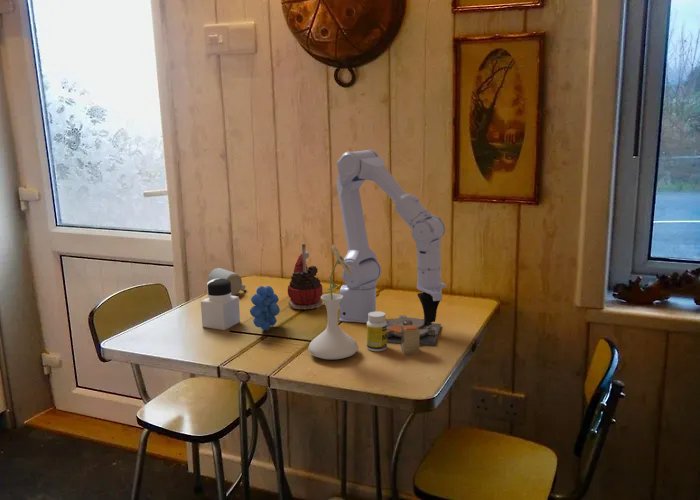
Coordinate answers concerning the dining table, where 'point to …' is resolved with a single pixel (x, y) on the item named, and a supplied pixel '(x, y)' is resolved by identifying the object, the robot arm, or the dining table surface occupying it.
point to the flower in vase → (333, 325)
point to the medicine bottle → (220, 306)
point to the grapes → (264, 307)
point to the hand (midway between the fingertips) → (430, 321)
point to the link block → (410, 339)
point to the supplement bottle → (376, 331)
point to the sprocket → (395, 324)
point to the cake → (304, 285)
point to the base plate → (423, 340)
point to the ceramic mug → (231, 276)
